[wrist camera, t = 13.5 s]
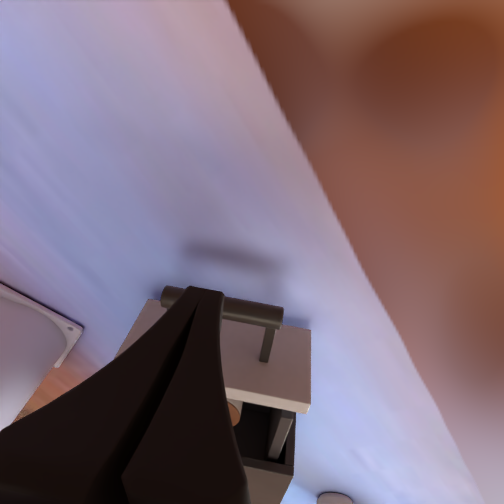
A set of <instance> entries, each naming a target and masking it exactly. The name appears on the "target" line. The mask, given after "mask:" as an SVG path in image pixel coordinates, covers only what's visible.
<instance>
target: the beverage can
mask: <svg viewBox="0 0 504 504" xmlns="http://www.w3.org/2000/svg"><path fill="white" fill-rule="evenodd" d="M317 504H353V502H352V501H351V499H350V498H349V497H347V496H345V495H343V494H339V493H324V494H322V495H320V497H319V498H318V500H317Z"/></svg>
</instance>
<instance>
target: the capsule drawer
mask: <svg viewBox="0 0 504 504" xmlns="http://www.w3.org/2000/svg"><path fill="white" fill-rule="evenodd" d="M184 291H185V289H183V288H178V287H173V286H165V288H164V289H163V292H162V295H161V301H158V300H153V299H148V300H147V302H146V303H145V305H144V307H143V309H142V310H141V312H140V314H139V316H138V317H137V319H136V321H135V323H134V324H133V326H132V328H131V330H130V331H129V333H128V335H127V337H126V338H125V340H124V342H123V344H122V345H121V347H120V349H119V351H118V353H117V354H116V356H115V358H116V357H118V356H119V355H120V354H121V353H123V352H124V351H125V350H126V349H127V348H129V347H130V346H131V345H132V344H133V343H134V342H135V341H136V340H138V339H139V338H140V337H141V336H142V335H143V334H144V333H145V332H146V331H147V330H148V329H150V328H151V327H152V326H153V325H154V324H155V323H156V322H157V321H158V320H159V319H160V318H161V316H162V315H163V314H164V313H165V312H166V311H167V310H168V309H169V308H170V307H171V306H172V305H173V304H174V303H175V301H176V300H177V299H178V298H179V297H180V296H181V294H182V293H183V292H184ZM283 313H284V308H283V307H278V306H273V305H268V304H262V303H257V302H252V301H247V300H241V299H236V298H231V297H226V296H224V305H223V316H222V327H221V331H220V351H221V362H222V371H223V378H224V385H225V391H226V397H227V398H230V399H234V400H239V401H243V404H242V409H241V415H240V420H239V422H238V423H237V424H236V425H235V426H233V430H234V434H235V438H236V441H237V445H238V449H239V453H240V455H241V456H246V457H251V458H255V459H260V460H265V461H270V462H274V463H276V462H277V460H278V457H279V454H280V452H281V449H282V447H283V444H284V442H285V439H286V436H287V434H288V431H289V429H290V426H291V424H292V421H293V412H298V413H303V414H307V412H308V409H309V407H310V405H311V330H309V329H303V328H298V327H293V326H288V325H283V324H282V320H283ZM115 358H114V359H115Z"/></svg>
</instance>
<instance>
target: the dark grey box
mask: <svg viewBox="0 0 504 504" xmlns="http://www.w3.org/2000/svg"><path fill="white" fill-rule="evenodd" d="M295 428H296V412H293V421H292V424H291V426H290V429H289V431H288V434H287V436H286V439H285V442H284V444H283V447H282V449H281V452H280V454H279V457H278V460H277V462H276V463H274V462H270V461H265V460H260V459H255V458H251V457H246V456H241V455H240V456H241V460H242V463H243V466H244V470H245V473H246V476H247V480H248V487H249V493H250V499H251V504H280V503H281V501H282V499H283V497H284V495H285V493H286V491H287V489H288V486H289V484H290V482H291V480H292V478H293V476H294V454H295Z"/></svg>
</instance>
